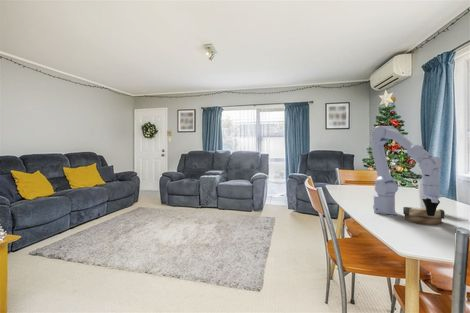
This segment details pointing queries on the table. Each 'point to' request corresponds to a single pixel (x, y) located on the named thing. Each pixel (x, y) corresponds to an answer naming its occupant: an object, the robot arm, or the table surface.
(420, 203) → the drinking glass
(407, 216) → the stool seat
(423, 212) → the folding leg
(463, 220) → the table surface
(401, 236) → the table surface
